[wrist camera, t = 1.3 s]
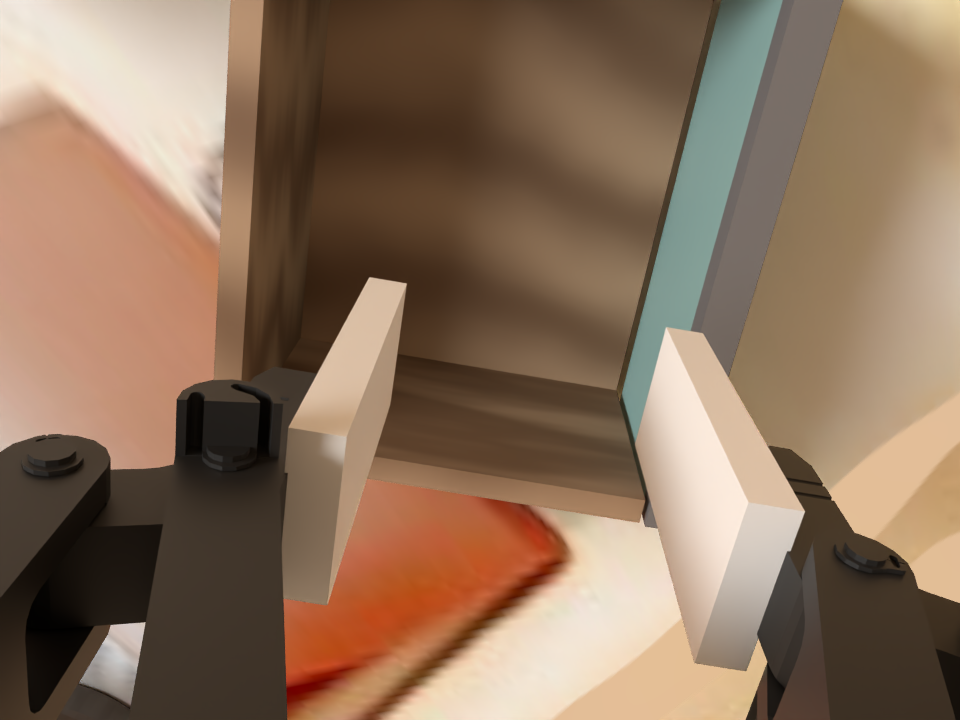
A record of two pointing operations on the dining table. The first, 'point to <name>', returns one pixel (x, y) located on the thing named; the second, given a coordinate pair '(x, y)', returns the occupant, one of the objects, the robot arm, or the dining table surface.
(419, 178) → the crate
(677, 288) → the panel
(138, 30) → the dining table surface
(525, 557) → the dining table surface
